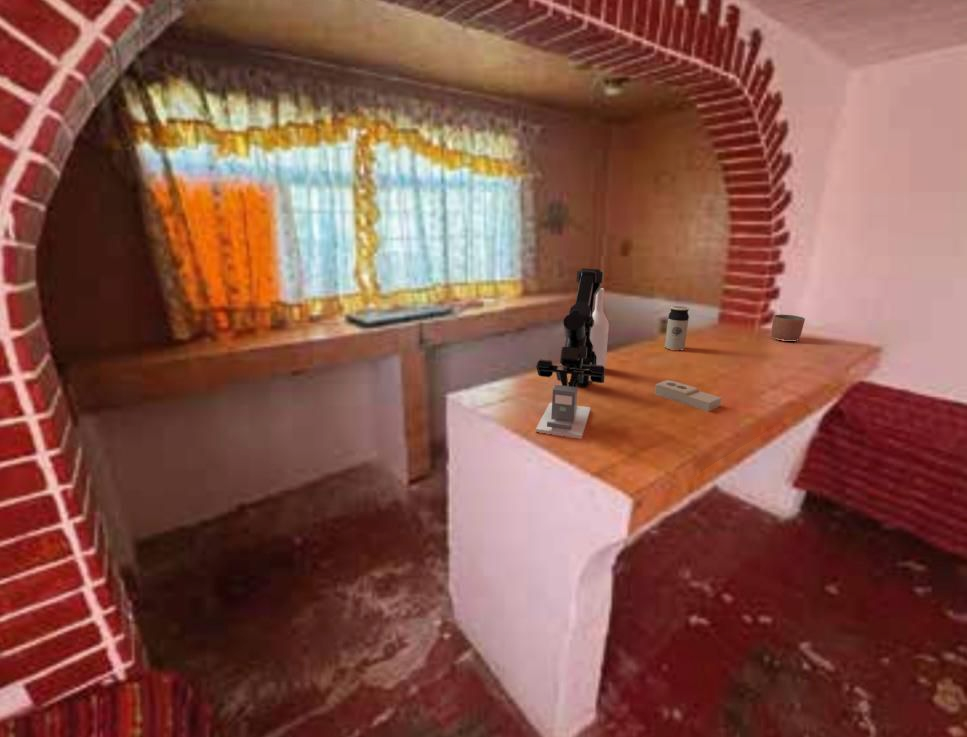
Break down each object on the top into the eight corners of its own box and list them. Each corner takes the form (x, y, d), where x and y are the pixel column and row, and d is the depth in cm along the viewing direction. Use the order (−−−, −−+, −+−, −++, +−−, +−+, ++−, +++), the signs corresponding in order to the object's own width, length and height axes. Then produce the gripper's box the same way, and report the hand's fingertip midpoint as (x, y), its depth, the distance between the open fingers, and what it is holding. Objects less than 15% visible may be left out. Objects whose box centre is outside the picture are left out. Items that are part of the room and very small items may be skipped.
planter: (799, 344, 218) (804, 321, 214) (768, 341, 224) (772, 317, 221) (800, 339, 228) (805, 316, 224) (770, 335, 234) (774, 313, 231)
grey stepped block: (709, 399, 142) (655, 383, 155) (707, 412, 143) (653, 395, 156) (722, 394, 146) (668, 379, 159) (719, 407, 147) (666, 390, 160)
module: (553, 413, 135) (555, 384, 133) (575, 416, 134) (577, 387, 131) (550, 419, 131) (552, 390, 129) (573, 422, 129) (575, 393, 127)
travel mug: (667, 345, 215) (672, 305, 209) (686, 348, 210) (692, 307, 205) (662, 349, 209) (667, 307, 203) (681, 352, 204) (687, 310, 199)
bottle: (578, 367, 183) (584, 287, 174) (596, 365, 186) (603, 286, 176) (590, 373, 176) (597, 290, 166) (609, 371, 178) (616, 289, 169)
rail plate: (549, 405, 146) (550, 396, 145) (590, 410, 143) (591, 401, 142) (535, 432, 128) (536, 421, 127) (581, 439, 124) (582, 428, 124)
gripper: (539, 331, 136) (528, 381, 129) (607, 337, 130) (600, 389, 124) (543, 351, 145) (534, 398, 139) (607, 357, 140) (600, 407, 133)
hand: (565, 398), depth 133 cm, fingers closed, pressing on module
